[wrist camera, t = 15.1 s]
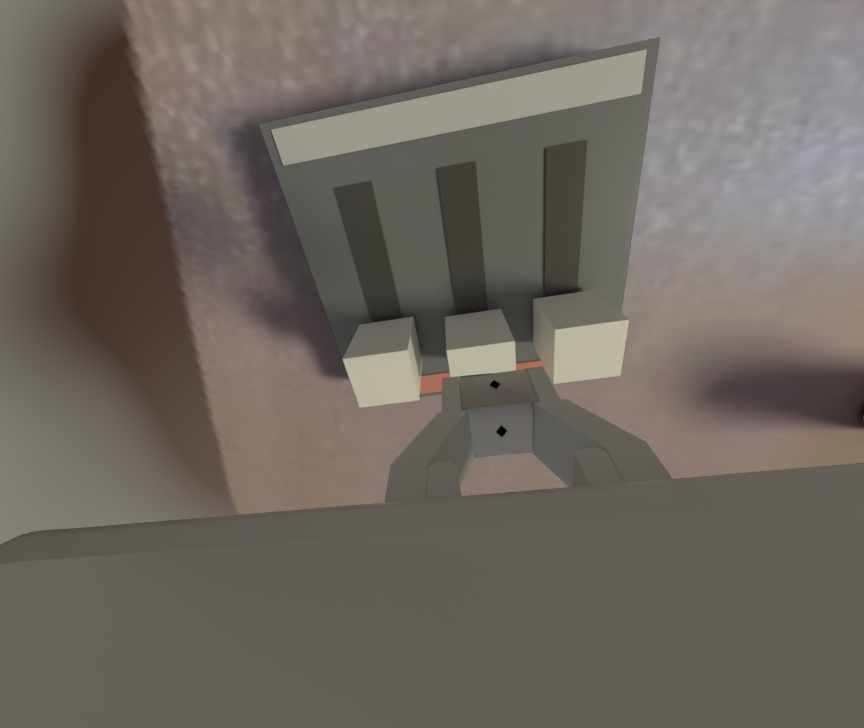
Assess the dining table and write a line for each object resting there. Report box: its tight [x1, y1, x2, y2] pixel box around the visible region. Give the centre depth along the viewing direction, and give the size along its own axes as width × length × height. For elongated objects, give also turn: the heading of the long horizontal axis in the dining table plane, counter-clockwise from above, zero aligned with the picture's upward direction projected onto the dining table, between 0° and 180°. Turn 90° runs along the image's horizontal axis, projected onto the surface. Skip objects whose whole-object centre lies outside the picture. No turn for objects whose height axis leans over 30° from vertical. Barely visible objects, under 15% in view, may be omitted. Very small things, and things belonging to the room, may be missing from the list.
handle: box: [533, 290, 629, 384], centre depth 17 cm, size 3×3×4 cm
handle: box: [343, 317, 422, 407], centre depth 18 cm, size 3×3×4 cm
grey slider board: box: [259, 37, 660, 403], centre depth 19 cm, size 16×17×3 cm
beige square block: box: [445, 309, 516, 380], centre depth 18 cm, size 3×3×4 cm
